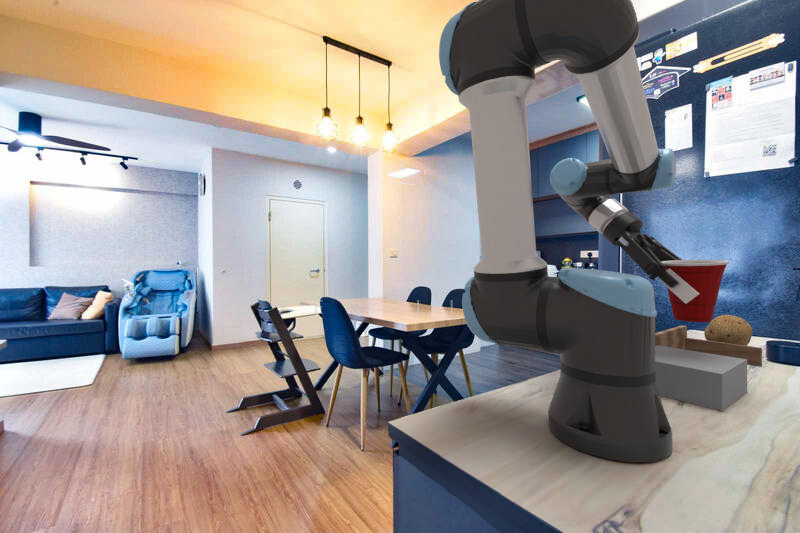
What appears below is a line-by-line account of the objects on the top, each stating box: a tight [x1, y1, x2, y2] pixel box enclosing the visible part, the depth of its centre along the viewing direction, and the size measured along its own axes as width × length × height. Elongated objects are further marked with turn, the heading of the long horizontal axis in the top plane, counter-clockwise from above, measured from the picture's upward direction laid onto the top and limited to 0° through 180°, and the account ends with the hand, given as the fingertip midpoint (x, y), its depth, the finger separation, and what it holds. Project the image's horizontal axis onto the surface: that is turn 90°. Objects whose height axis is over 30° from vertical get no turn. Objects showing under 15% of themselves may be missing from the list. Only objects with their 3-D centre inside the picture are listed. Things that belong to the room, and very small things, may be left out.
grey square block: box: [655, 345, 748, 412], centre depth 68 cm, size 14×14×6 cm
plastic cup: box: [661, 259, 730, 323], centre depth 71 cm, size 11×11×12 cm
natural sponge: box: [703, 314, 753, 346], centre depth 92 cm, size 9×9×10 cm
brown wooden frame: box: [655, 325, 763, 367], centre depth 81 cm, size 22×15×7 cm
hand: (702, 297), depth 70 cm, fingers closed on plastic cup, 9 cm apart
